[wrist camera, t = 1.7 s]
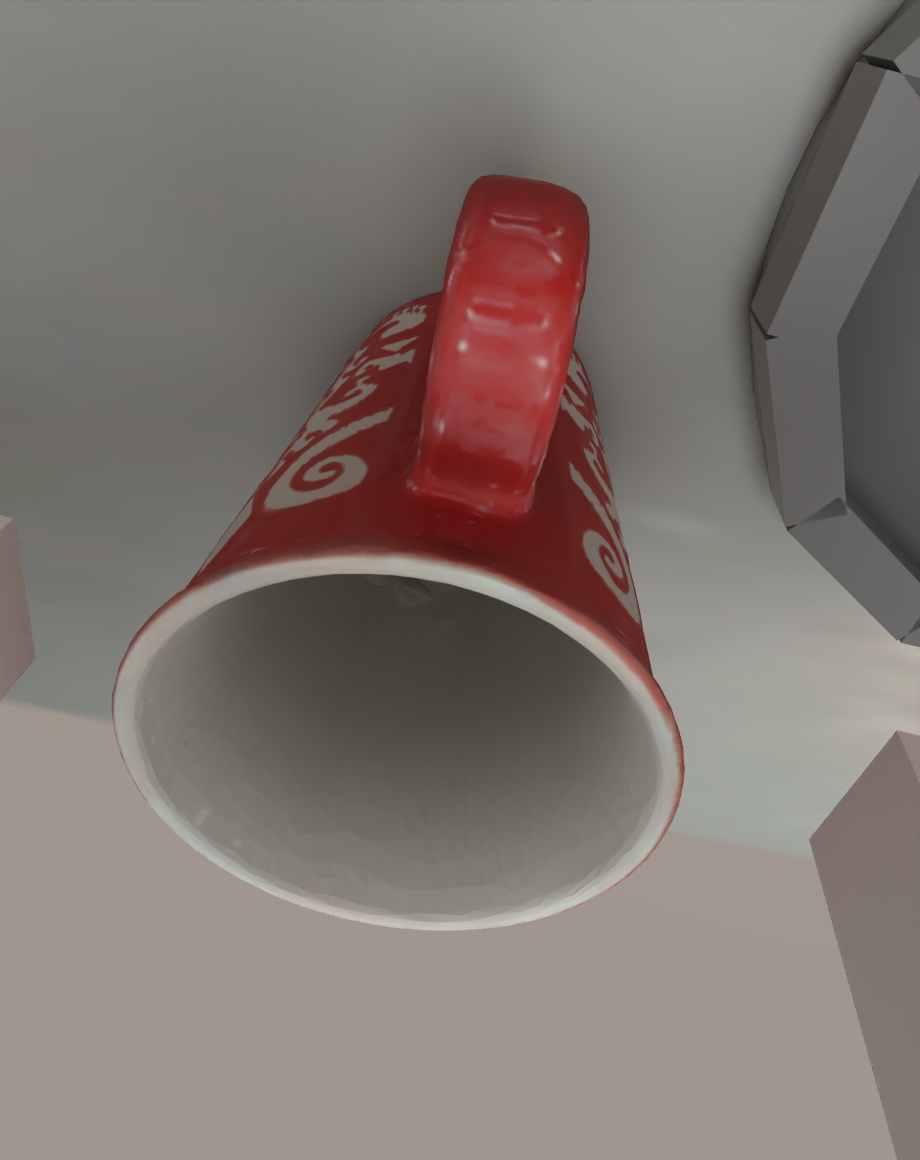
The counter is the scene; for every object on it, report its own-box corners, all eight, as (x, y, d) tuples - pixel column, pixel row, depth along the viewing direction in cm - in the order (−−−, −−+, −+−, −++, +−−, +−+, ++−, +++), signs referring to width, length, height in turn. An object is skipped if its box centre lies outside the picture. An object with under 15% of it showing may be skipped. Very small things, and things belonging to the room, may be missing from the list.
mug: (565, 576, 26) (566, 981, 16) (298, 501, 26) (108, 871, 15) (744, 170, 19) (983, 412, 8) (373, 49, 18) (100, 141, 7)
